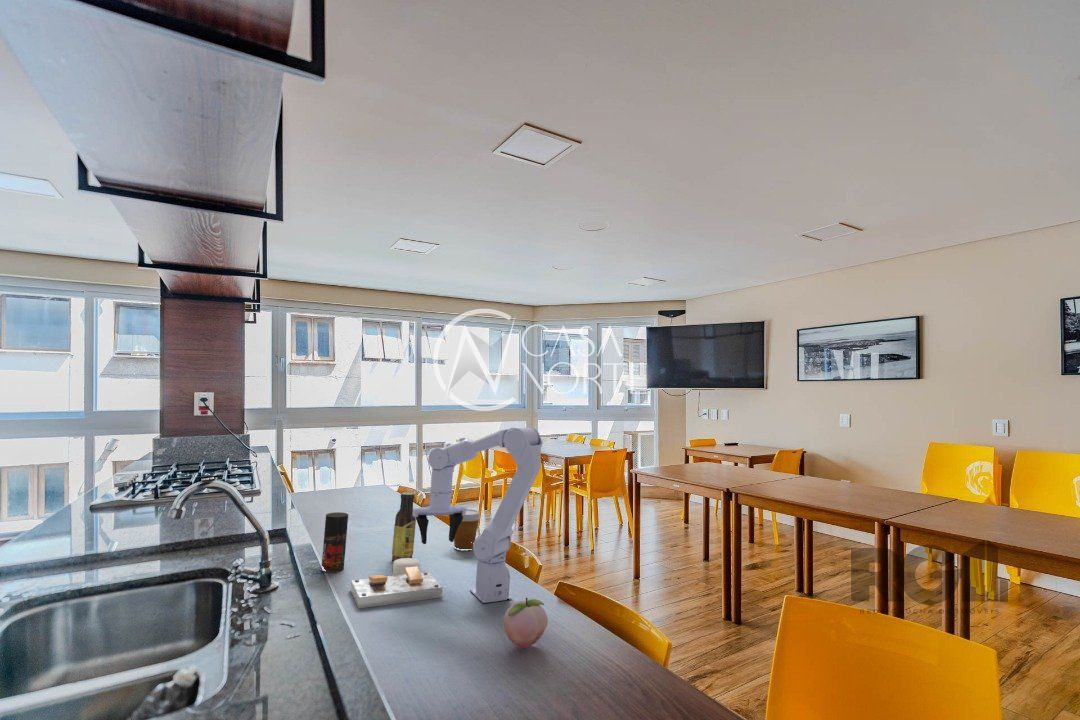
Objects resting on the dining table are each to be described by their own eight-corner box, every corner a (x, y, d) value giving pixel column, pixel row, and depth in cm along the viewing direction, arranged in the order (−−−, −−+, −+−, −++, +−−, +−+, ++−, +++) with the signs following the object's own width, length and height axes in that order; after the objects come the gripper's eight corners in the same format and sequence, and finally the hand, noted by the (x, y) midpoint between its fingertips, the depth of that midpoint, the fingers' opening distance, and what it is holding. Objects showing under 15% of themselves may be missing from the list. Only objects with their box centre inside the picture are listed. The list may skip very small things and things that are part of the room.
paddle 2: (422, 582, 133) (423, 578, 132) (410, 583, 131) (410, 579, 131) (416, 569, 138) (417, 566, 138) (404, 571, 136) (405, 567, 136)
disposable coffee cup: (463, 554, 167) (466, 516, 168) (443, 548, 172) (446, 511, 173) (484, 548, 174) (486, 512, 175) (464, 542, 180) (466, 507, 181)
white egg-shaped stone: (421, 579, 143) (422, 564, 143) (395, 582, 139) (397, 567, 140) (414, 571, 149) (415, 556, 149) (389, 574, 146) (391, 559, 146)
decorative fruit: (522, 633, 113) (525, 586, 114) (552, 647, 108) (555, 597, 108) (492, 648, 106) (495, 597, 106) (522, 662, 100) (525, 609, 101)
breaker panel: (441, 597, 130) (442, 584, 131) (358, 608, 121) (359, 594, 121) (427, 581, 141) (428, 569, 141) (350, 590, 132) (351, 577, 132)
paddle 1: (387, 581, 128) (387, 577, 128) (373, 583, 127) (374, 578, 127) (381, 578, 133) (381, 574, 133) (368, 580, 132) (369, 576, 132)
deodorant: (316, 569, 145) (321, 514, 146) (333, 564, 150) (338, 511, 152) (331, 574, 142) (336, 518, 144) (348, 568, 148) (352, 514, 149)
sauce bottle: (406, 564, 154) (412, 496, 155) (387, 562, 155) (392, 494, 157) (416, 558, 160) (421, 492, 162) (397, 556, 161) (402, 490, 163)
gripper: (461, 488, 151) (458, 536, 150) (411, 489, 144) (407, 540, 143) (469, 492, 144) (466, 542, 143) (417, 494, 138) (414, 547, 137)
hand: (437, 542), depth 143 cm, fingers open, 7 cm apart
